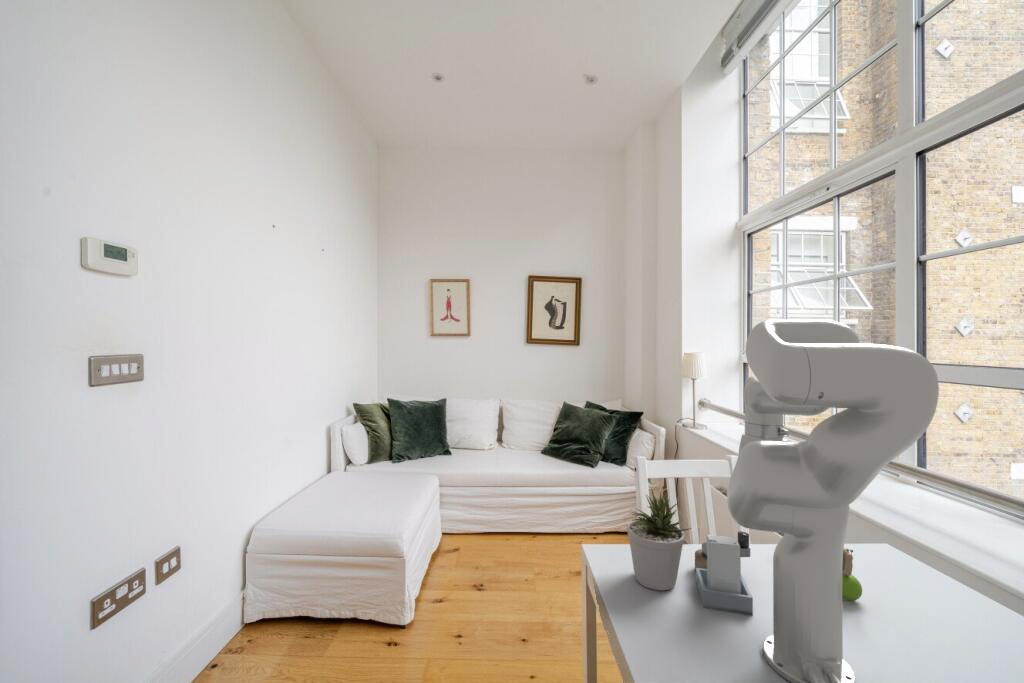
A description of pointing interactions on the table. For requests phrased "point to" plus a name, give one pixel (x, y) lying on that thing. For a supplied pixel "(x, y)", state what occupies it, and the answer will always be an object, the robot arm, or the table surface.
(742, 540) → the crank
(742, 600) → the tray
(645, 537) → the potted plant
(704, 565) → the crank pedestal
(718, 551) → the skincare box
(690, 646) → the table surface
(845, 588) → the snail figurine
